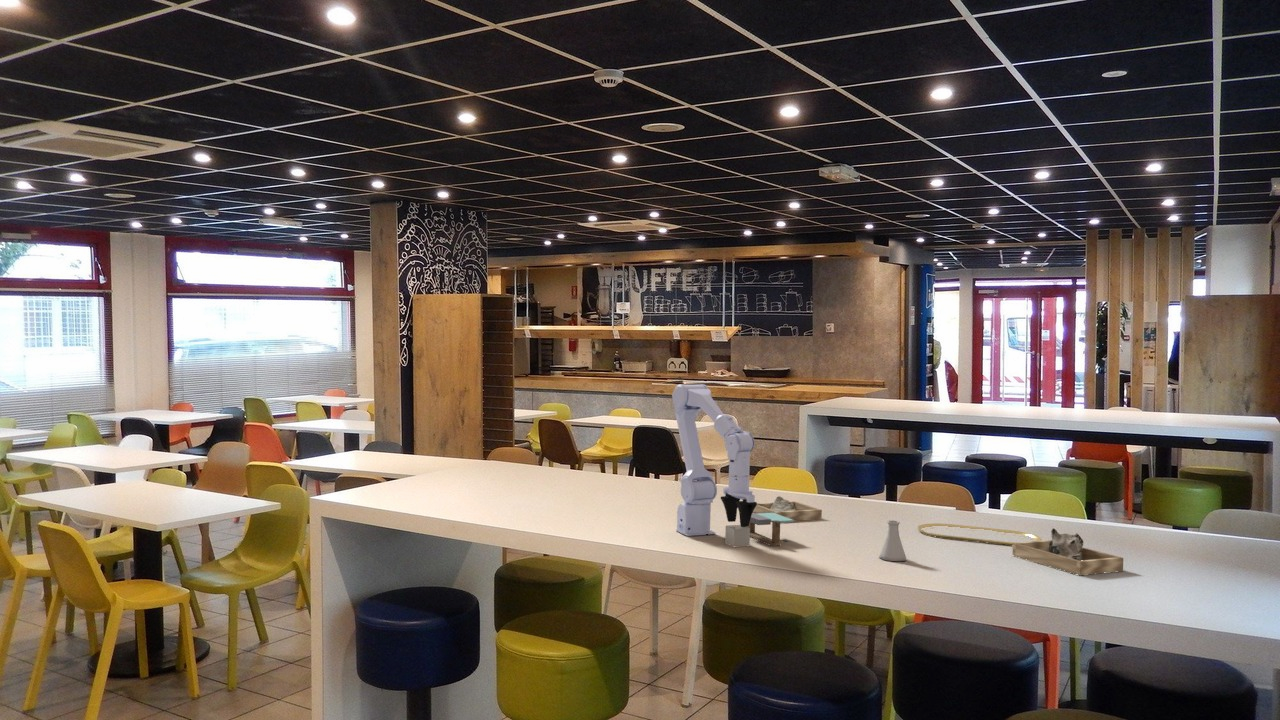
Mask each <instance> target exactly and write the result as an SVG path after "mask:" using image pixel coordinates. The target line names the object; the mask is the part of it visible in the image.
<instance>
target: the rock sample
mask: <svg viewBox="0 0 1280 720" xmlns="http://www.w3.org/2000/svg"><path fill="white" fill-rule="evenodd" d="M791 502H792V501H790V500H788V499H786V498H785V499H784V497H783V496H780V495H778V496H776V497H775V500H774V502H772V503H773V505H772V507H771V508H770V509H771V510H774V511H777V512H781V511H796V508H795V506H794V504H792V503H791Z"/></svg>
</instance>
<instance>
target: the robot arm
mask: <svg viewBox="0 0 1280 720" xmlns="http://www.w3.org/2000/svg"><path fill="white" fill-rule="evenodd" d="M671 397H672V403H673V407H674V413H675V419H676V423H677V428H678V433H679V439H680V444H681V445H680V446H681V449H682V453H683V454H682V455H683V460H684V464H685V469H686V472H685V473H684V474H683V476H682V477H681V478H680V479H679V480H680V484H681V487H680V495H681V498H682V499H683V501H684V503H680V504H678V507H677V513H676V514H677V515H676V518H677V519H676V521H677V522H676V529H675V531H676V532H678V533H680V534H682V535H685V536H686V537H688V536H689V537H693V536H704V535H706V534H708V535H716V531H713V530H711V511H712V510H711V508H712V503H714V499H715V498H716V497H717V495H718V488H717V484H716V482H715V480H714V477H713V473H711V472H710V471H709V470H707V469H706V468H705V465H704V458H703V455H702V454H703V453H702V448H701V443H700V439H699V438H700V437H699V435H698V433H699V432H698V430H697V424H696V420H695V419H696V418H695V417H696V416H697V414H699V413H700V412H701V411H703V412H704V414H706V416H708V417H709V419H710V420H711V421H712V422H713V429H714V430H715V431H716V432H717V433H718V434H719V436H720V437H721V438H722V439H723V440H724V447H725V450H726V451H727V459H728V487H727V486H726V487H723V495H724V496H723V495H722V496H720V500H721V501H722V502H721V503H723V507H724V509H725V515H726V519H727V522H728V523H731V522H732V523H733V522H734V523H735V522H736V521H737V514H739V515H738V516H739V523H740V524H739V525H741V527H748V526H749V523H750V519H751V516H752V513H753V511H754V509H755V507H756V506H757V503H758V502H757V501H755V500H756V499H755V497H756V495H754V494H753V491H752V490H750V466H751V465H750V464H751V462H750V461H751V458H750V457H751V453H752V452H753V450H754V449H755V442H756V441H755V438H754V436H753V434H752V433H751V432H749V431H745V430H743V429H742V428H741V427H740V426H739V425H738V423H737V422H736V421H735V420H734V417H733V416H732V415H729V414H724V413H723V411H722V410H721V409H720V407H719V406H718V404H717V403H716V402H715V400H714V399H713V397H712V390H710V389H709V387H708V386H707V385H706V384H703V383H701V384H680V383H679V384H678V385H676V386H675V387H674V390H673V392H672V394H671ZM706 536H707V535H706Z"/></svg>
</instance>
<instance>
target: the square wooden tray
mask: <svg viewBox="0 0 1280 720" xmlns="http://www.w3.org/2000/svg"><path fill="white" fill-rule="evenodd" d="M790 502H791V503H792V504H794V506H795V508H796V511H781V512H777V511H774V510H771V509H770V508H771V507H772V505H773V503H774V502H760V503H759V502H757V506H756V507H755V509H754V512H755V513H756V514H758V513H775V514H778V515H781V516H784V517H787V518H789V519H792V520H794V522H796V521H795V520H798V521H811V519H814V520H822V515H823V513H822V512H823V510H822V509H821V508H817V507H815V506H810V505H808V504H804V503H801V502H799V501H790Z"/></svg>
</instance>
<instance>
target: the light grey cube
mask: <svg viewBox="0 0 1280 720" xmlns="http://www.w3.org/2000/svg"><path fill="white" fill-rule="evenodd" d="M724 537H725V538H724V543H725V544H726V543H727V544H726V545H728V544H730V545H731V546H730V545H729V546H730V547H733V546H740V547H748V546H747V545H750V544H751V543H750V542H751V540H750V539H751V537H750V528H748V527H741V525H740V524H732V525H725V536H724Z"/></svg>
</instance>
